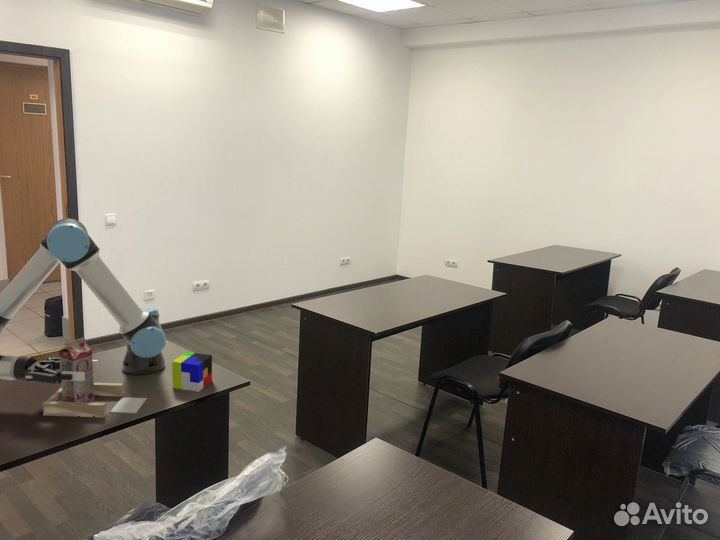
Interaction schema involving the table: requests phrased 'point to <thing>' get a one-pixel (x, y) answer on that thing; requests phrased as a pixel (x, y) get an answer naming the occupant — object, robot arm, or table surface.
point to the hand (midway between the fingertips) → (91, 370)
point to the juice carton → (77, 360)
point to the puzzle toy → (192, 371)
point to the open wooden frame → (82, 409)
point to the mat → (128, 405)
